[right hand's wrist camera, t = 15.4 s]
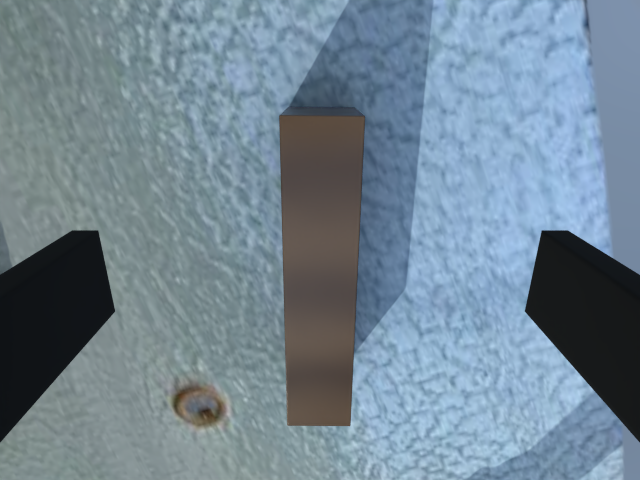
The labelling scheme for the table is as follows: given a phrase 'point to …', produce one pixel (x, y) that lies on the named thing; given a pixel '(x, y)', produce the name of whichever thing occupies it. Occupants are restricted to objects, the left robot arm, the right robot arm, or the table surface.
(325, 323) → the bar
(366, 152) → the table surface
